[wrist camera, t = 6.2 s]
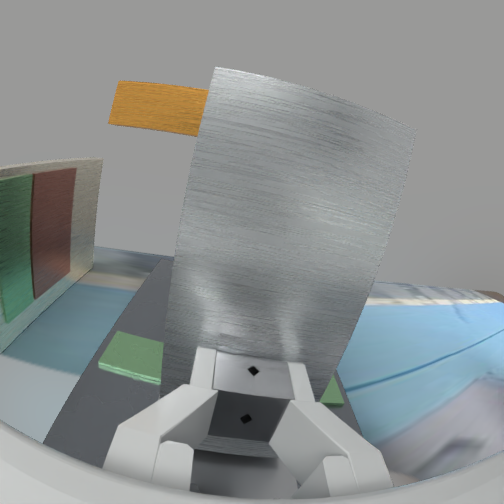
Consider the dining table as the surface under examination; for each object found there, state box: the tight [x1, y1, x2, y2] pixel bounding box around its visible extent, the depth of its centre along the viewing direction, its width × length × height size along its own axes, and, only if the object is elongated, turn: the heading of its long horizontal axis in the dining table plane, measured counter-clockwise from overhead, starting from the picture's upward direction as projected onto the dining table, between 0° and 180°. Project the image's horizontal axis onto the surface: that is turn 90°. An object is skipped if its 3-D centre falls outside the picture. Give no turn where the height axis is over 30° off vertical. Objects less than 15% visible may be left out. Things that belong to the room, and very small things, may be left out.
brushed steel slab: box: [108, 67, 416, 458], centre depth 10 cm, size 6×8×12 cm
